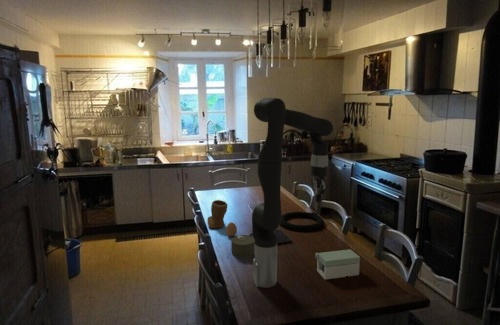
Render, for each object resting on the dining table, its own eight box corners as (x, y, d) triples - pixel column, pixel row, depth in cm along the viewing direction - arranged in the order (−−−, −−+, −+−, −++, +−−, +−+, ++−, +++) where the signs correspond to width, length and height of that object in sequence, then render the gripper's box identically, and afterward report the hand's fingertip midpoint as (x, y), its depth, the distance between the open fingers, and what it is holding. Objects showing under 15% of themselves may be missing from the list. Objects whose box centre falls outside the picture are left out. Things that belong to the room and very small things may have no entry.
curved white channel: (325, 279, 149) (325, 267, 148) (316, 270, 156) (317, 259, 155) (358, 274, 153) (359, 263, 152) (349, 266, 160) (350, 255, 159)
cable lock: (269, 218, 214) (298, 207, 235) (269, 224, 214) (297, 212, 236) (307, 229, 195) (335, 216, 217) (307, 236, 196) (334, 222, 217)
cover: (323, 267, 148) (323, 261, 147) (314, 257, 156) (314, 252, 156) (359, 262, 152) (360, 257, 151) (349, 253, 160) (349, 248, 160)
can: (236, 259, 167) (236, 246, 166) (227, 250, 178) (227, 237, 176) (259, 255, 172) (259, 242, 171) (249, 246, 183) (249, 233, 181)
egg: (225, 238, 192) (225, 224, 191) (226, 234, 198) (226, 220, 197) (236, 238, 192) (236, 224, 191) (237, 234, 198) (237, 220, 197)
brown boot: (228, 229, 206) (227, 204, 203) (207, 229, 204) (207, 205, 201) (226, 220, 220) (226, 197, 218) (207, 220, 219) (207, 197, 216)
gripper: (305, 162, 163) (304, 198, 166) (317, 167, 150) (316, 206, 153) (321, 161, 164) (319, 197, 168) (333, 167, 152) (332, 205, 155)
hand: (318, 201), depth 160 cm, fingers closed
